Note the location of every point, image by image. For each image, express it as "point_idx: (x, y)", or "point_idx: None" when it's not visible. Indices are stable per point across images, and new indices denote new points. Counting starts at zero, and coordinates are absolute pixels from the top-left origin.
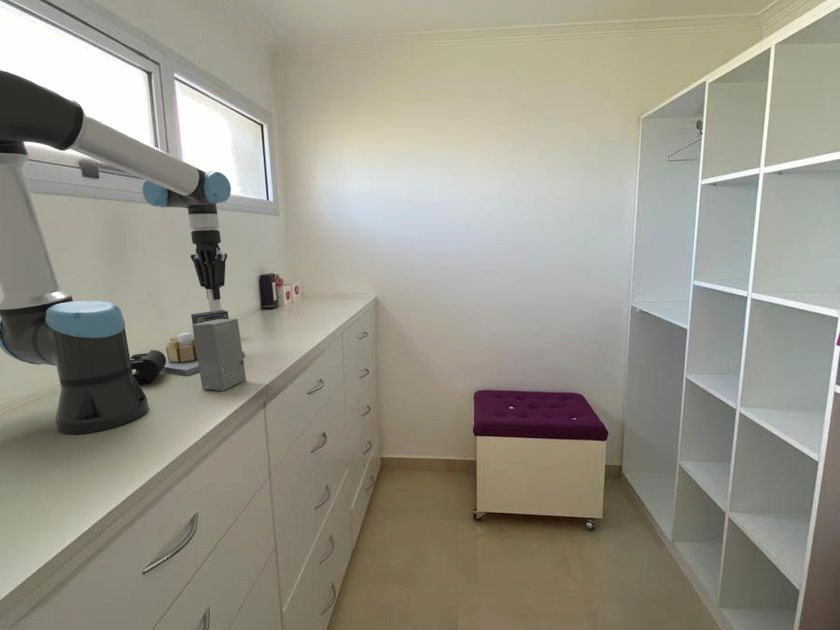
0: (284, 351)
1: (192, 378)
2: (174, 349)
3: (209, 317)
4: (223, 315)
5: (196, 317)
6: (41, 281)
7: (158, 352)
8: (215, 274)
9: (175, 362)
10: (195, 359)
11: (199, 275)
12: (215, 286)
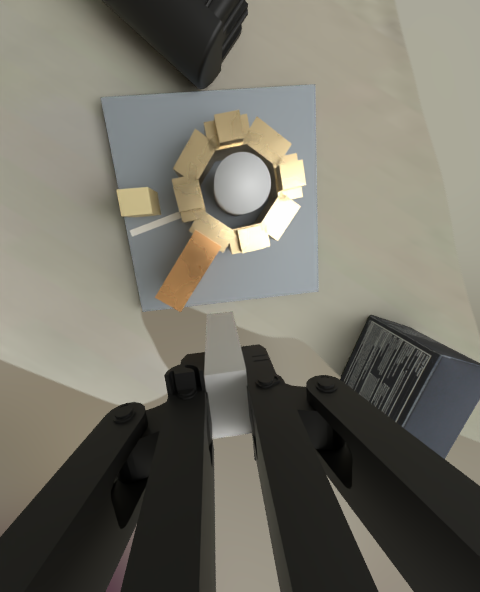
0: (85, 383)
1: (63, 95)
2: (211, 122)
3: (407, 390)
4: None
5: (434, 355)
6: None
7: (188, 36)
8: (58, 527)
9: None
10: None
11: (393, 456)
12: (138, 404)
